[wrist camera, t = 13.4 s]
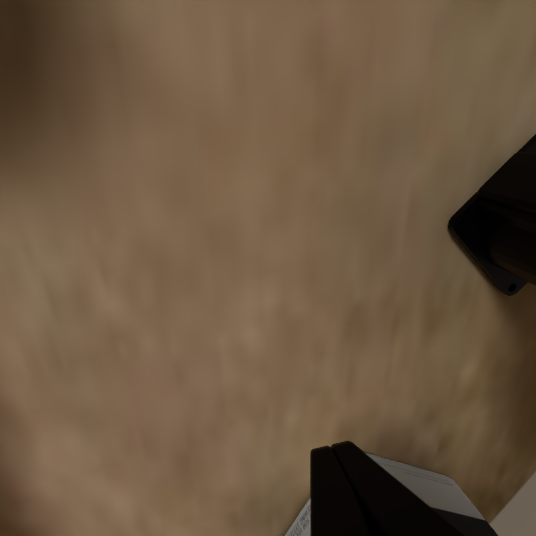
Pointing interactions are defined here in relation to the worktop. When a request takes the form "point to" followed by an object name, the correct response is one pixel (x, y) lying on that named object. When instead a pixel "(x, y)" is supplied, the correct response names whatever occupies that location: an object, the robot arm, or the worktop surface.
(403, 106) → the worktop surface
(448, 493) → the tea box
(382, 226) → the worktop surface
